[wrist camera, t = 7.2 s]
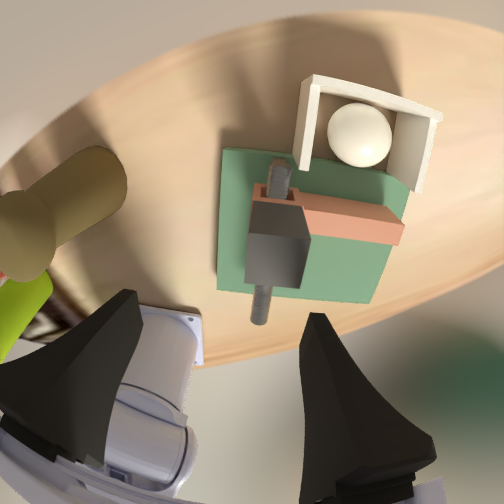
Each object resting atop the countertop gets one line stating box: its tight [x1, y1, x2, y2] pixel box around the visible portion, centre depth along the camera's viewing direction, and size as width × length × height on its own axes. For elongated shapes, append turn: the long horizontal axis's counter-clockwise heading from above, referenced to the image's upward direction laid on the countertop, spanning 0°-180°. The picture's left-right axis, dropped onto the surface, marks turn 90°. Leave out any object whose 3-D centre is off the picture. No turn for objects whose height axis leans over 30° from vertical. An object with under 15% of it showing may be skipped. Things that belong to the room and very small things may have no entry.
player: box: [244, 183, 405, 289], centre depth 14 cm, size 9×2×7 cm, turn 85°
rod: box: [250, 156, 292, 325], centre depth 18 cm, size 1×11×3 cm, turn 175°
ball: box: [327, 103, 392, 167], centre depth 14 cm, size 4×4×4 cm
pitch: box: [217, 147, 410, 304], centre depth 20 cm, size 13×11×1 cm
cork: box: [0, 146, 127, 283], centre depth 14 cm, size 6×6×11 cm
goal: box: [292, 74, 443, 194], centre depth 14 cm, size 7×5×5 cm
